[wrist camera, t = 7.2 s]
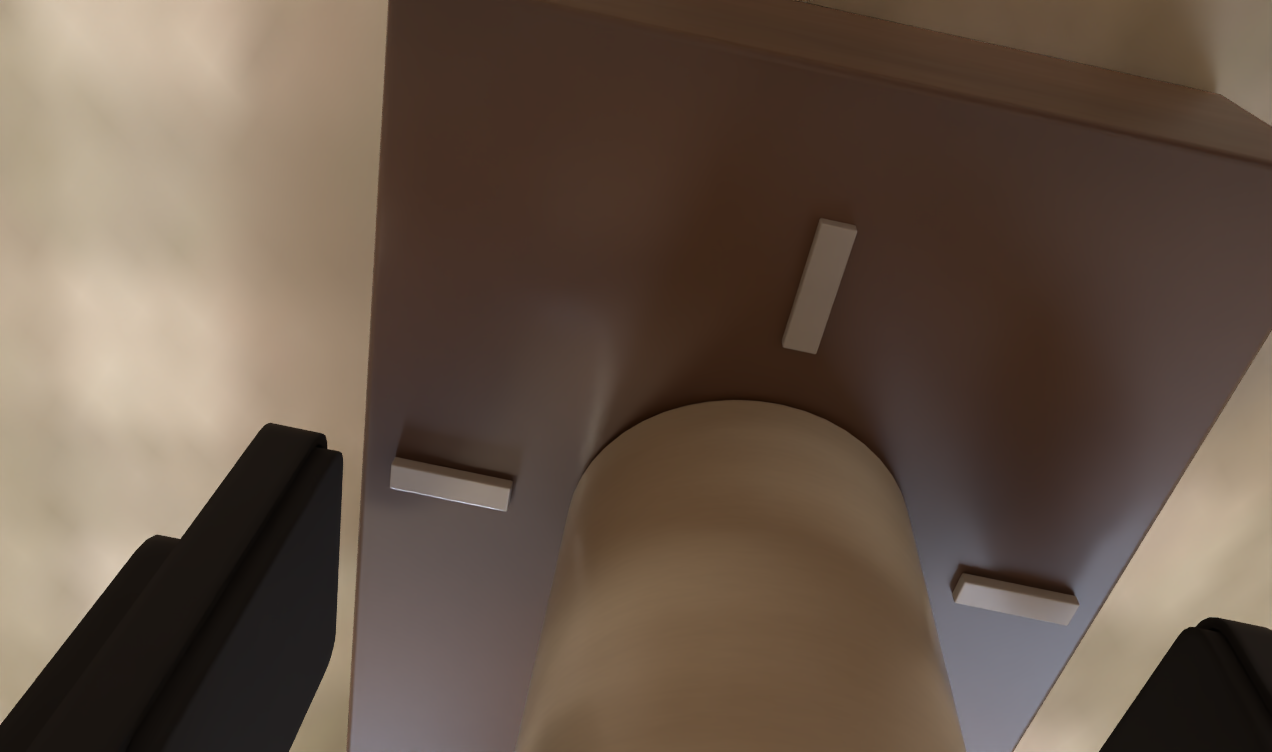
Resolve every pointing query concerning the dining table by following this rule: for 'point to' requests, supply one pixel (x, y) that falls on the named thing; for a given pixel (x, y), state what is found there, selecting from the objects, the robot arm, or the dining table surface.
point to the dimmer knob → (738, 597)
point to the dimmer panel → (782, 313)
